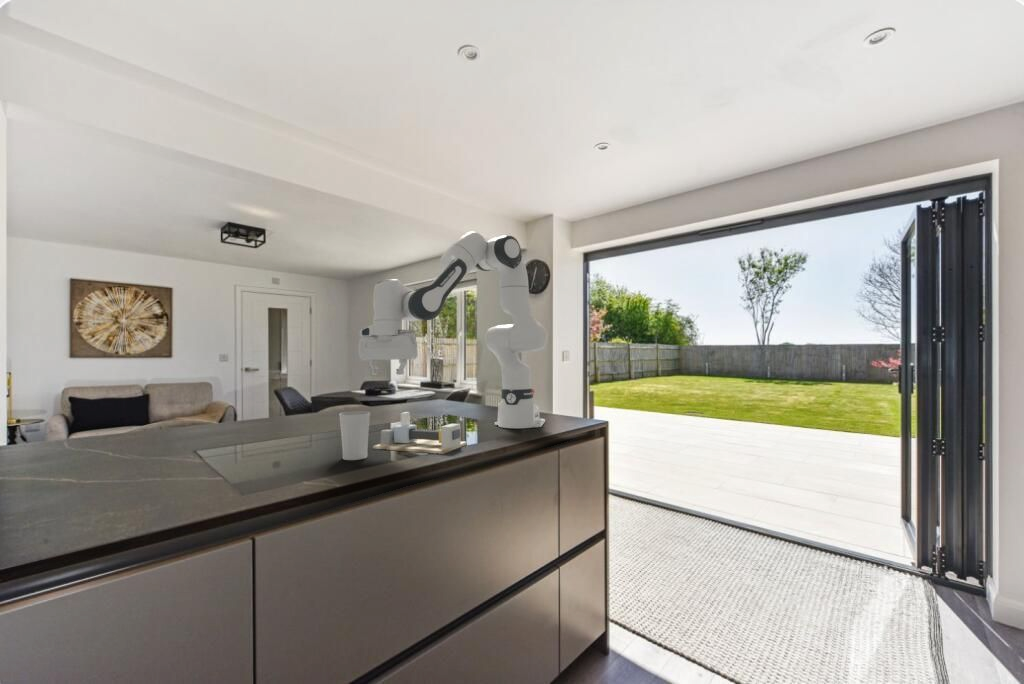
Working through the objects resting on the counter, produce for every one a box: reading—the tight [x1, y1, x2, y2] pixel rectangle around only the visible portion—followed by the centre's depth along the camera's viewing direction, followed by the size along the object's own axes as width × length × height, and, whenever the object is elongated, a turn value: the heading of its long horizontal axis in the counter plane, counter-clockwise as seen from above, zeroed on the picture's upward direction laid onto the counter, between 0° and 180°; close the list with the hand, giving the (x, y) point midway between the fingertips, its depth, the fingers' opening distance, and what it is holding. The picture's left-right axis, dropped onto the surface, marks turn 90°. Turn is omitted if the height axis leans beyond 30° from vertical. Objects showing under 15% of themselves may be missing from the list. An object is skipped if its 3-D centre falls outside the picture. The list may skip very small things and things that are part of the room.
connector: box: [440, 423, 462, 448], centre depth 130 cm, size 4×6×6 cm, turn 158°
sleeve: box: [393, 411, 418, 443], centre depth 137 cm, size 5×5×9 cm
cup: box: [339, 410, 371, 461], centre depth 121 cm, size 8×8×12 cm
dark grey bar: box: [389, 427, 441, 443], centre depth 135 cm, size 20×4×4 cm, turn 68°
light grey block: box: [380, 428, 396, 445], centre depth 138 cm, size 3×8×4 cm, turn 158°
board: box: [372, 439, 468, 455], centre depth 134 cm, size 24×14×1 cm, turn 68°
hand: (387, 374), depth 139 cm, fingers open, 8 cm apart
